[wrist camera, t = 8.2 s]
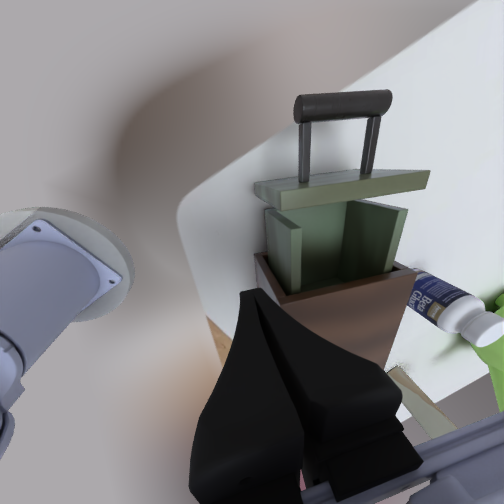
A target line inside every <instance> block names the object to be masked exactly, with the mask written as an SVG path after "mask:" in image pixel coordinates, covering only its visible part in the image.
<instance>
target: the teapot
mask: <svg viewBox="0 0 504 504" xmlns="http://www.w3.org/2000/svg"><path fill="white" fill-rule="evenodd" d="M495 304H496V305H498V306H499V307H500V309H499V310H497V311H496V312H495V314H497V315H499V316H500V317H502V318H504V293H503V294H501V295H500V296H499V297H498V298H497V299H496V301H495ZM471 346H472V348H473V349H474V351H475V352H476V354H477V355H478V356H479V358H480V359H481V360H482V361H483V362H484V363H486V364H487V365H488V368H489V371H490V375H491V379H492V383H493V387H494V391H495V394H496V398H497V402H498V406H499V410H500V412H502V411H504V335H503V336H502V337H500V338H499V339H498V340H496V341H495V342H493V343H491V344H489V345H487V346H484V347H477V346H475V345H474V344H472V343H471Z"/></svg>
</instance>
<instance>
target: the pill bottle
mask: <svg viewBox="0 0 504 504" xmlns="http://www.w3.org/2000/svg"><path fill="white" fill-rule="evenodd" d="M413 270H414V271H416V272H418V275H417V277H416V280H415V283H414V286H413V289H412V291H411V294H410V297H409V300H408V303H407V306H409V307H410V308H412V309H413V310H414V311H416V312H417V313H419V314H420V315H421V316H423V317H424V318H426V319H427V320H429V321H430V322H431V323H433V324H434V325H436V326H437V327H439V328H440V329H441V330H443V331H445V332H448V333H461V335H462V337H464V338H465V339H466V340H468V341H469V342H471V343H472V344H474V345H475V346H477V347H484V346H487V345H489V344H491V343H493V342H495V341H496V340H498V339H499V338H500V337H502V336H503V335H504V318H502V317H500V316H499V315H497V314H495V313H492V312H486V311H485V305H484V303H483V302H482V301H481V300H480V299H479V298H477V297H475V296H473V295H471V294H469V293H467V292H465V291H463V290H461V289H459V288H457V287H455V286H453V285H451V284H449V283H447V282H445V281H443V280H441V279H439V278H437V277H435V276H433V275H431V274H429V273H427V272H425V271H422V270H420V269H413Z"/></svg>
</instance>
